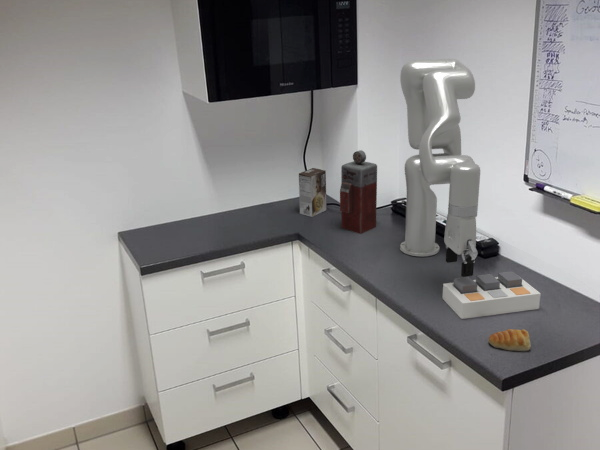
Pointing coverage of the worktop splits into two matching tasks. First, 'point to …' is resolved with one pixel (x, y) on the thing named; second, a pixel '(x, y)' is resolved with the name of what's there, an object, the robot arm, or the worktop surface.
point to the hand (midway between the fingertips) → (458, 268)
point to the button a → (465, 285)
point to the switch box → (491, 300)
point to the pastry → (511, 340)
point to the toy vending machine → (358, 194)
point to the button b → (487, 282)
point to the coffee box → (312, 192)
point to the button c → (509, 279)
